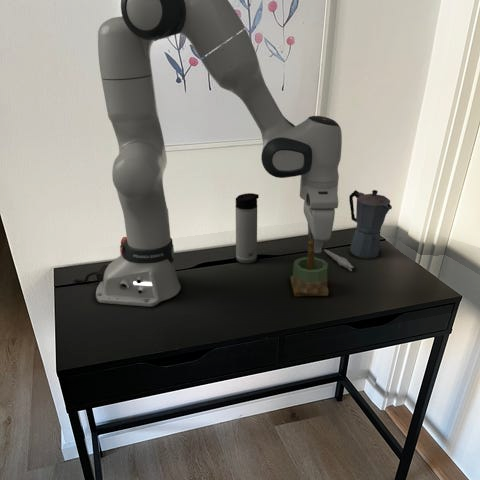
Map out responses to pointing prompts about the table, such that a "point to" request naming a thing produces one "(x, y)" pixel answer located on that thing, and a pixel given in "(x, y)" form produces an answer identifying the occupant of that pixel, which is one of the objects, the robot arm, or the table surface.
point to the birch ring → (310, 286)
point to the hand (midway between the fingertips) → (314, 243)
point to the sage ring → (310, 275)
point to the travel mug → (246, 227)
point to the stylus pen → (340, 260)
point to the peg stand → (310, 267)
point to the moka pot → (368, 223)
